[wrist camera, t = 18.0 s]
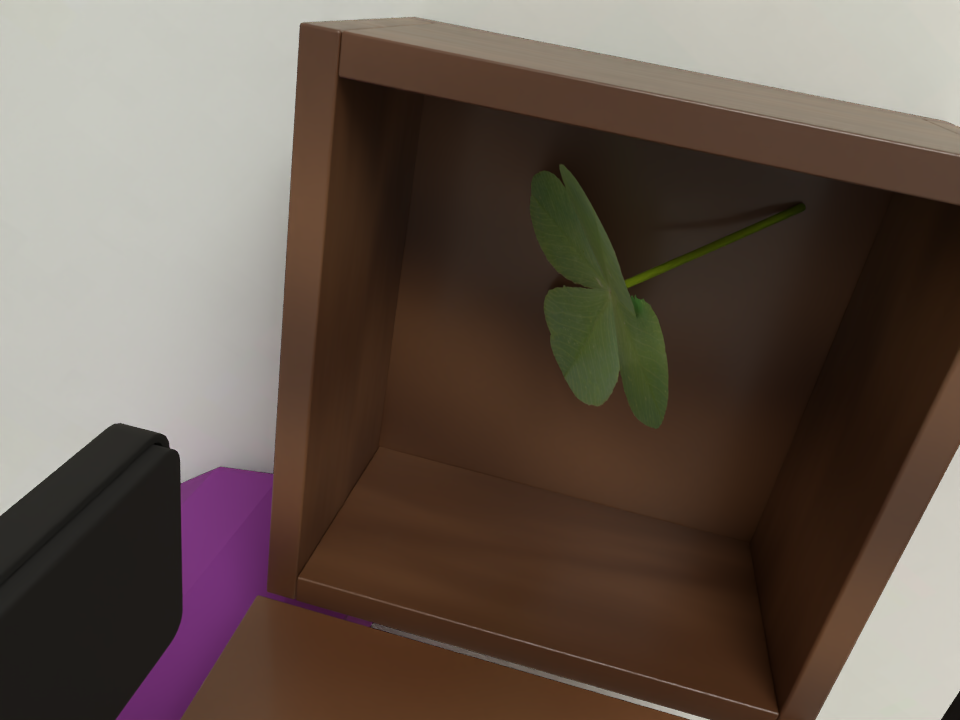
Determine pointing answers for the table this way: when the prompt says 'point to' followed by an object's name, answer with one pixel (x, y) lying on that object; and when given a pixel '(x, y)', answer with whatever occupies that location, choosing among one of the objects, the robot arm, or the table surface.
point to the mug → (213, 585)
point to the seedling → (605, 301)
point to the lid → (376, 678)
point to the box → (612, 426)
